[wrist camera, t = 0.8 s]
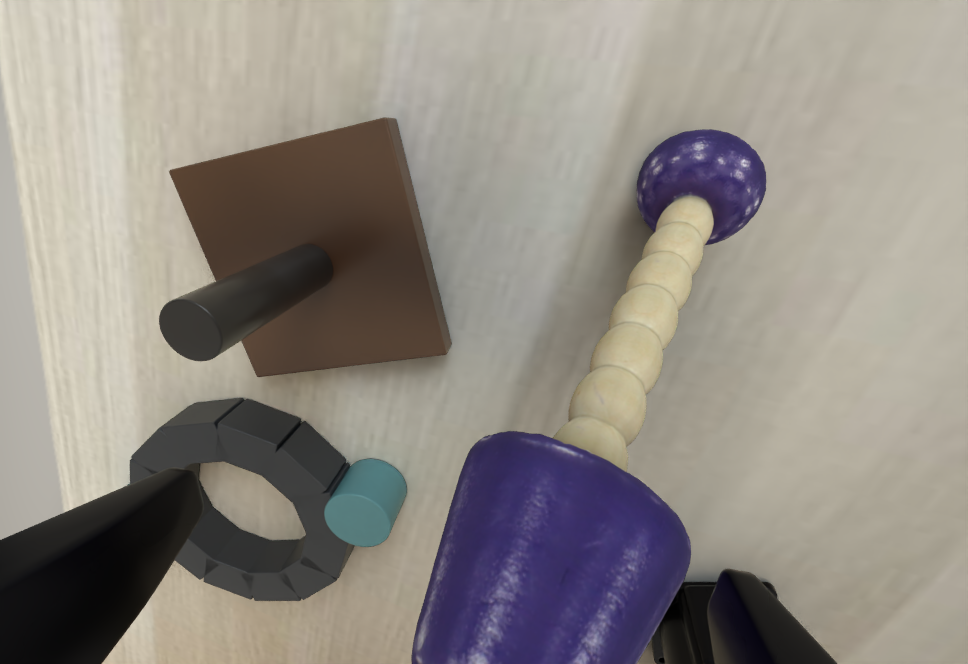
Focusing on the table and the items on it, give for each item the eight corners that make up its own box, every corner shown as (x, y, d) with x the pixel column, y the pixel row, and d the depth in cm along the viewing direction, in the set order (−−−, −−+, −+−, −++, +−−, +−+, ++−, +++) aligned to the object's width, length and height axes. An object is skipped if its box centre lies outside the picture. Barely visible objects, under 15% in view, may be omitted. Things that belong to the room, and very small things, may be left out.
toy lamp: (605, 185, 18) (350, 633, 9) (686, 80, 14) (384, 680, 5) (703, 253, 18) (549, 758, 9) (811, 167, 15) (725, 891, 5)
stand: (452, 344, 22) (393, 458, 14) (270, 366, 24) (133, 477, 16) (396, 117, 18) (276, 106, 11) (188, 168, 20) (-38, 189, 13)
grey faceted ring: (433, 565, 28) (420, 608, 26) (179, 569, 32) (146, 606, 30) (373, 383, 24) (350, 413, 21) (86, 414, 28) (37, 443, 25)
